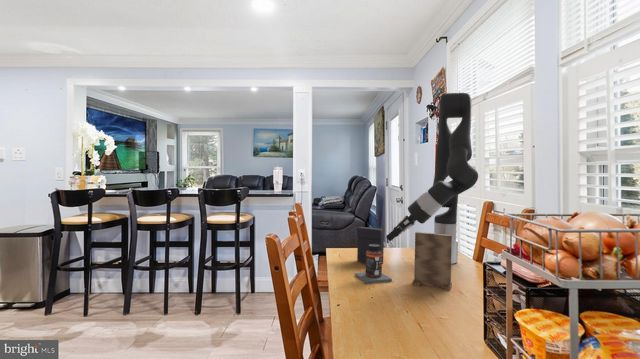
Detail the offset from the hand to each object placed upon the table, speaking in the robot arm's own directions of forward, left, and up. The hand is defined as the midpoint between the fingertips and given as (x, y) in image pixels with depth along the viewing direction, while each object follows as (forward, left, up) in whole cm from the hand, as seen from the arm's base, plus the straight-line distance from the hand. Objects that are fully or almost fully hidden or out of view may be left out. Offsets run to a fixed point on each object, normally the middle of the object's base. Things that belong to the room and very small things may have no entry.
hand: (391, 237), depth 121 cm
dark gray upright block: (-4, -25, -16) cm, 30 cm away
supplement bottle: (+4, -5, -15) cm, 16 cm away
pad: (+5, -5, -16) cm, 17 cm away
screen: (-12, +8, -16) cm, 21 cm away
